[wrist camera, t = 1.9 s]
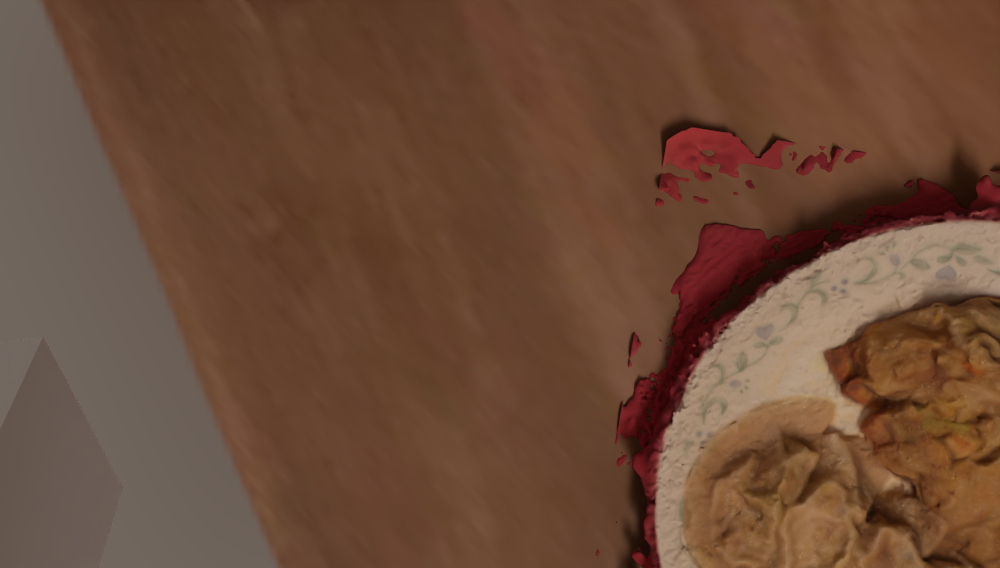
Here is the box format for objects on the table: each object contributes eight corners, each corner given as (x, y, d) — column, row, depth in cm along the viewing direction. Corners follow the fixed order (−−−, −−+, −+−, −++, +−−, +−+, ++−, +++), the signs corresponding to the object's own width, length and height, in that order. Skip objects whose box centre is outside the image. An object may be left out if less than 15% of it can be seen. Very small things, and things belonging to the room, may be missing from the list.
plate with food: (1335, 222, 34) (1413, 221, 31) (1182, 892, 36) (1240, 962, 33) (669, 127, 38) (672, 116, 34) (563, 744, 40) (555, 794, 36)
